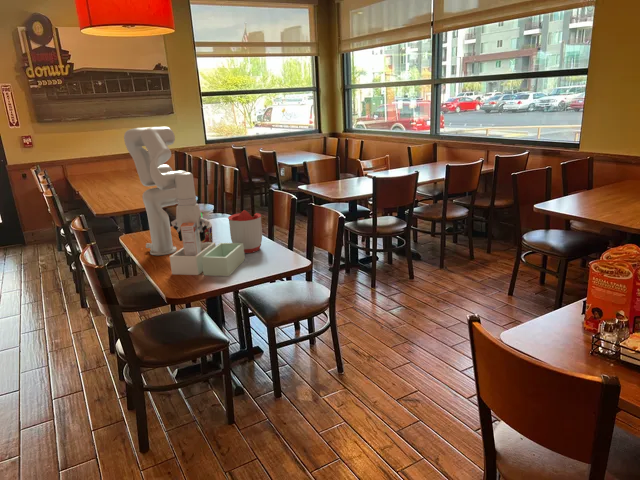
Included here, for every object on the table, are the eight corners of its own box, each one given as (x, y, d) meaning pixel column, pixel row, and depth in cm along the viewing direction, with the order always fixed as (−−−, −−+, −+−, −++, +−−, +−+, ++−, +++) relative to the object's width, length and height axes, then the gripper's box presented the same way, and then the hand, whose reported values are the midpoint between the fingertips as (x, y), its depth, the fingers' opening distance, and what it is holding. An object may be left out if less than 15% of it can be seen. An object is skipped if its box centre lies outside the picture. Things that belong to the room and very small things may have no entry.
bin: (203, 275, 196) (201, 257, 194) (222, 259, 215) (220, 242, 212) (228, 275, 194) (226, 257, 191) (244, 259, 213) (243, 243, 210)
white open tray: (172, 274, 199) (169, 256, 196) (193, 258, 218) (190, 242, 215) (198, 275, 196) (195, 257, 194) (217, 259, 215) (215, 242, 213)
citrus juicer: (270, 244, 233) (267, 205, 227) (256, 256, 217) (252, 214, 211) (241, 243, 237) (237, 205, 232) (225, 254, 221) (221, 213, 216)
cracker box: (191, 261, 213) (185, 217, 207) (204, 260, 214) (198, 216, 208) (185, 272, 200) (179, 225, 194) (200, 271, 201) (194, 224, 195)
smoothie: (218, 251, 226) (214, 211, 220) (207, 256, 219) (202, 215, 213) (204, 249, 230) (199, 210, 224) (193, 255, 223) (188, 214, 217)
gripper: (164, 203, 197) (169, 242, 201) (202, 203, 193) (207, 242, 198) (172, 200, 204) (178, 237, 208) (209, 199, 200) (214, 237, 205)
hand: (192, 240), depth 203 cm, fingers open, 9 cm apart
